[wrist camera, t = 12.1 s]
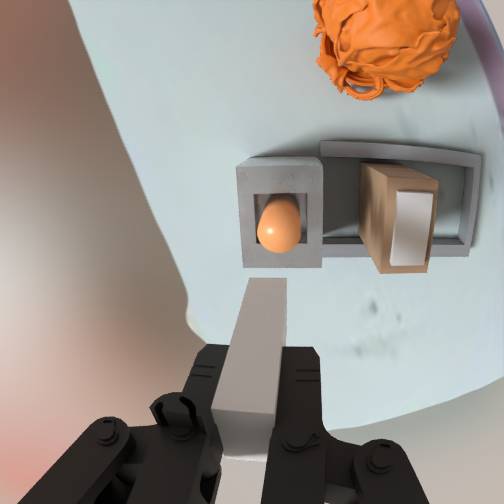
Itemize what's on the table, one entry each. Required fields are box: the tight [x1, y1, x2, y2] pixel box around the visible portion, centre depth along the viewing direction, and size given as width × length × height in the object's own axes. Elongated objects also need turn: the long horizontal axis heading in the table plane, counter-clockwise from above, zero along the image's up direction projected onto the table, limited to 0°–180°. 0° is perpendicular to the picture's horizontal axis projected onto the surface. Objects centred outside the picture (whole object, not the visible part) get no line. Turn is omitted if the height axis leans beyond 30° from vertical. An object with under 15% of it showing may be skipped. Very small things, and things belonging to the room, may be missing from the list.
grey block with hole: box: [236, 156, 323, 268], centre depth 29 cm, size 9×7×8 cm
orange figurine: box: [313, 0, 460, 101], centre depth 17 cm, size 11×11×18 cm
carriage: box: [358, 162, 439, 274], centre depth 26 cm, size 8×4×11 cm, turn 3°
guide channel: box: [320, 141, 481, 257], centre depth 30 cm, size 12×19×2 cm, turn 93°
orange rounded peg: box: [257, 194, 301, 253], centre depth 25 cm, size 3×3×6 cm
